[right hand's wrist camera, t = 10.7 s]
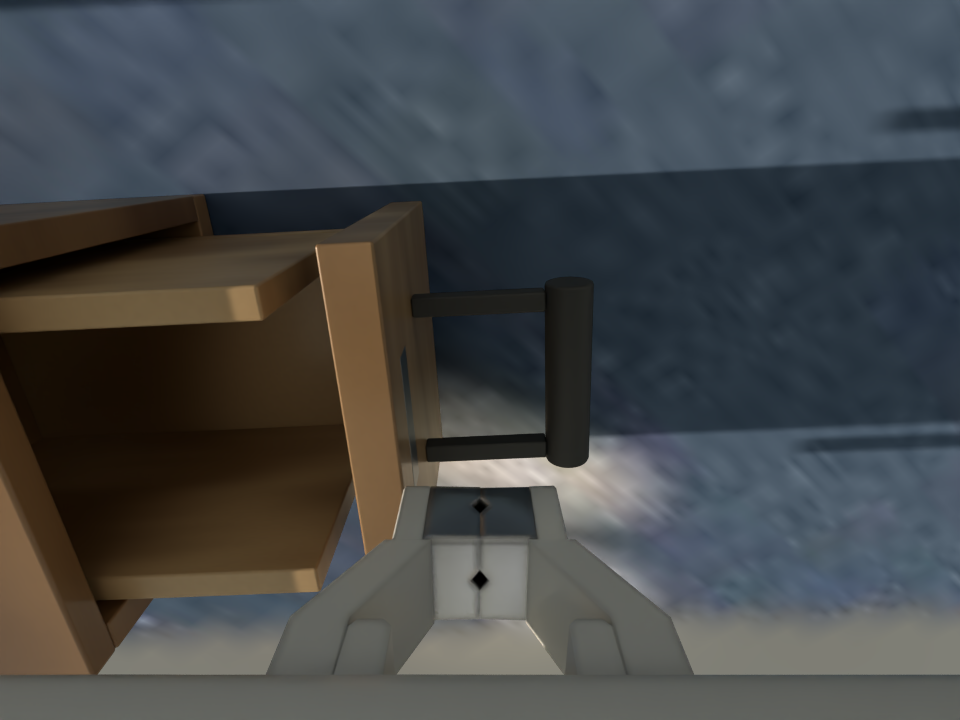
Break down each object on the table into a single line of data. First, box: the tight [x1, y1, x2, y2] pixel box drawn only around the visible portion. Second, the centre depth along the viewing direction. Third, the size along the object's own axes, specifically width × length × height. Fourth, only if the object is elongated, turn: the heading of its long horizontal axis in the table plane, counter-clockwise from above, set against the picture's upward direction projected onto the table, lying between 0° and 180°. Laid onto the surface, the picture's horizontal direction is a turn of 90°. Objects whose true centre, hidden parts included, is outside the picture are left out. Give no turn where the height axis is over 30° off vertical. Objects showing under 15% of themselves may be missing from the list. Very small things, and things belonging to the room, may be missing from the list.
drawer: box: [0, 201, 594, 600], centre depth 17 cm, size 22×10×10 cm, turn 93°
